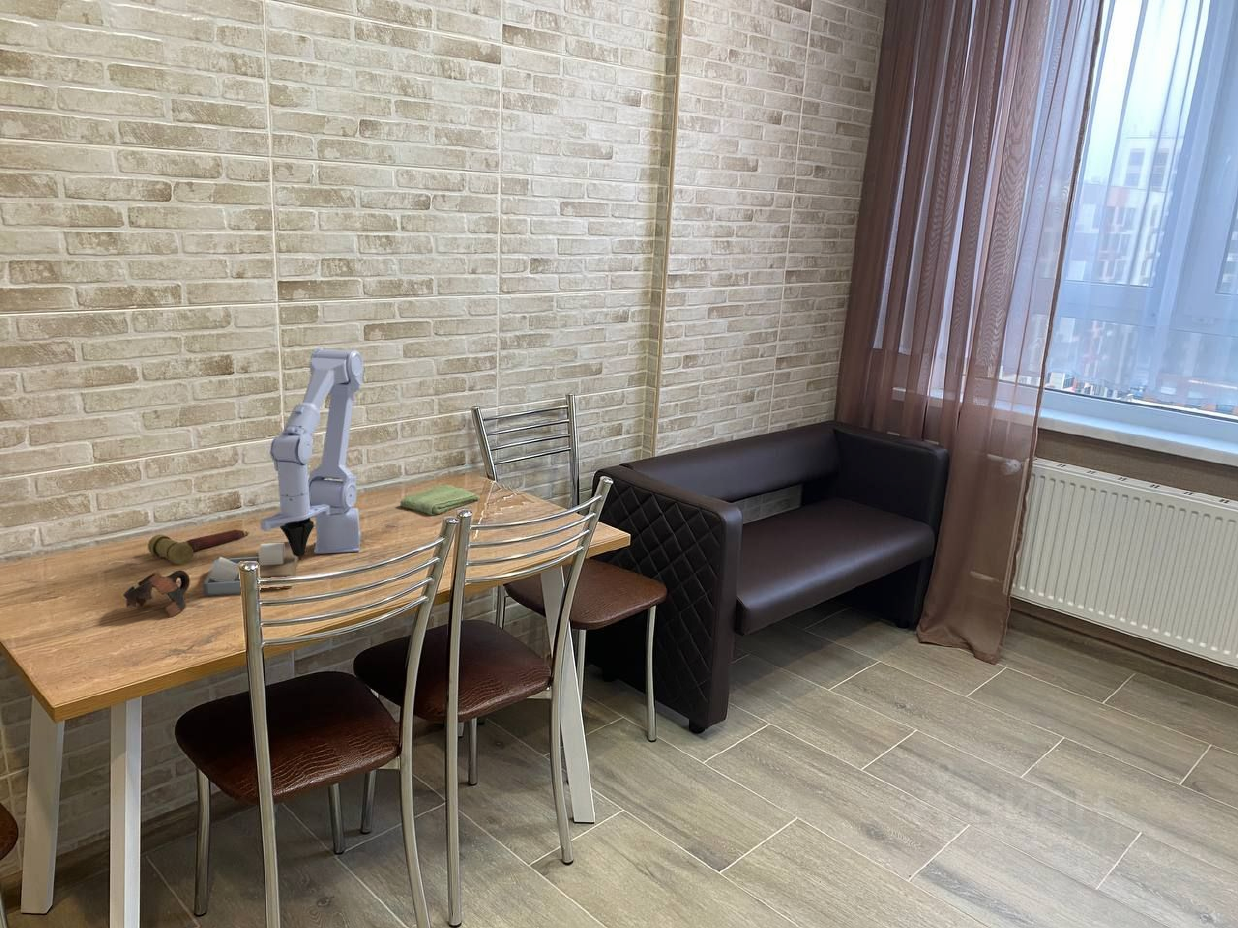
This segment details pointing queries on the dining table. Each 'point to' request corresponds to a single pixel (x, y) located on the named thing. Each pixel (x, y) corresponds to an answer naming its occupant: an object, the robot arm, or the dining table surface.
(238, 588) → the tray
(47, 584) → the dining table surface
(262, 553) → the tile
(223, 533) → the gavel
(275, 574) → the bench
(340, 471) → the robot arm
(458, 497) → the washcloth
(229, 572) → the white squarish block
